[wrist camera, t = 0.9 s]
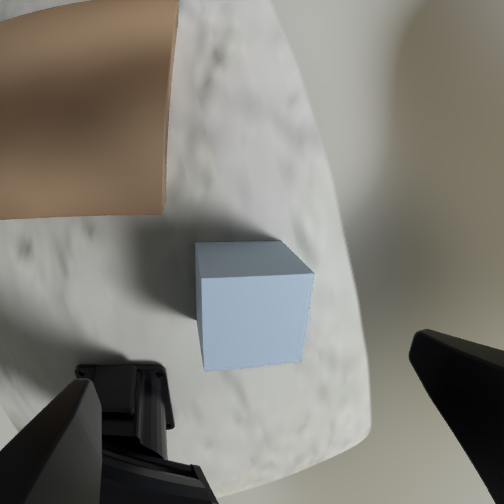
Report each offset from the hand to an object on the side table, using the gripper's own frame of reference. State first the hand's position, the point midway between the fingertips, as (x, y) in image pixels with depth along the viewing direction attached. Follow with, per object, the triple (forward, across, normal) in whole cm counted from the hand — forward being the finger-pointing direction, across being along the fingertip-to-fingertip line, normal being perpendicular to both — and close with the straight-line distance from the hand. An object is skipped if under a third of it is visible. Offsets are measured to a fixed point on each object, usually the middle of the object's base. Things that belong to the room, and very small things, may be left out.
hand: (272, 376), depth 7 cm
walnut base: (+12, +7, -8) cm, 16 cm away
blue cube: (+11, -1, +2) cm, 12 cm away
